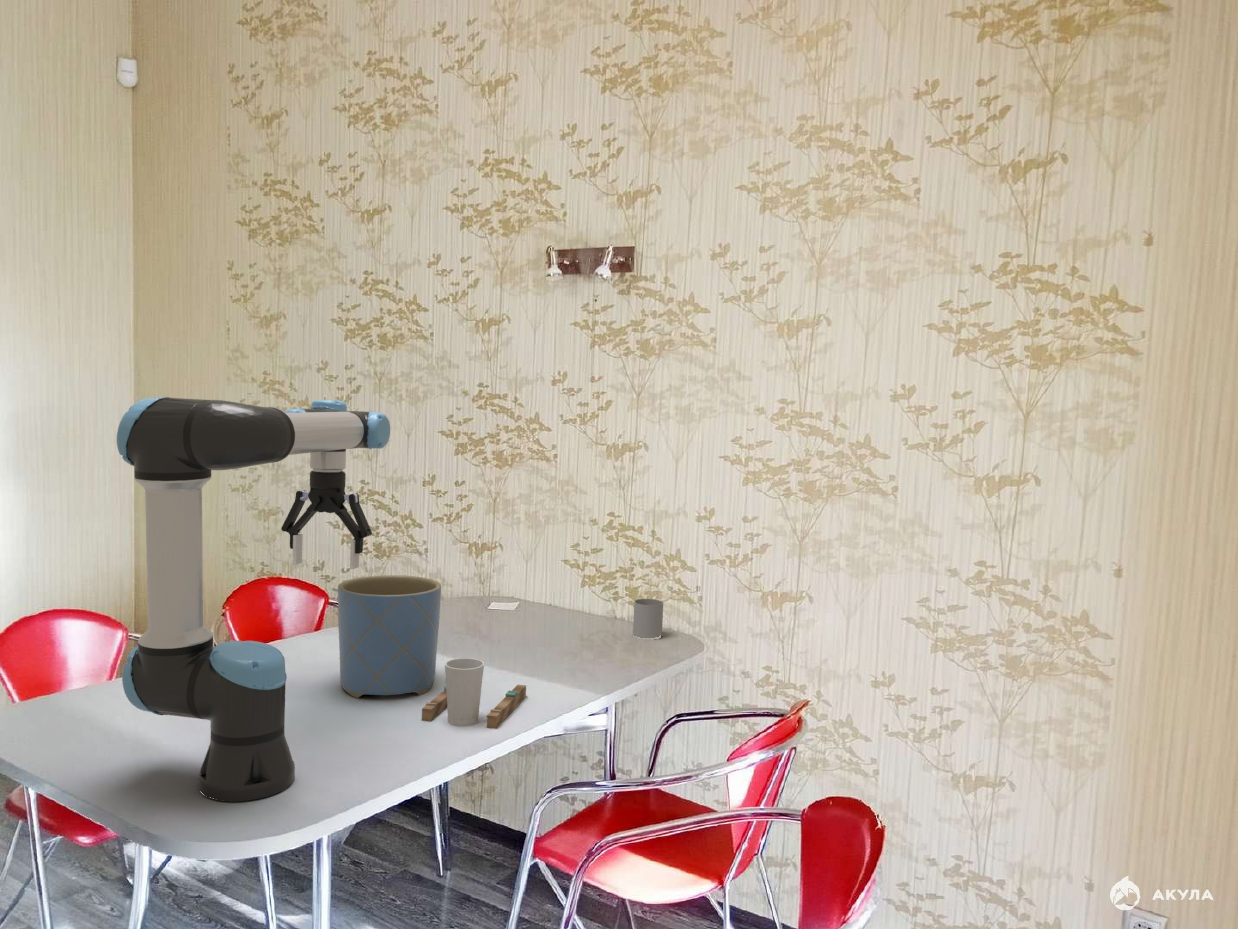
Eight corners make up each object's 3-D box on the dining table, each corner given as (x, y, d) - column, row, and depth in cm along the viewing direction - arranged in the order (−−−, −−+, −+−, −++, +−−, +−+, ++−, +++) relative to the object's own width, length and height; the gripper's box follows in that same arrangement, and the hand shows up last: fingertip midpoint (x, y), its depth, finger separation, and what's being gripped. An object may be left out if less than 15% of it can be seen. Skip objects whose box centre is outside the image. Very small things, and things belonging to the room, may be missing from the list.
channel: (496, 728, 185) (496, 713, 185) (421, 720, 188) (421, 705, 188) (526, 696, 206) (526, 682, 206) (458, 689, 209) (458, 676, 209)
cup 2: (629, 638, 260) (630, 603, 259) (637, 631, 268) (638, 597, 267) (658, 641, 257) (659, 606, 257) (665, 634, 265) (666, 600, 265)
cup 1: (474, 729, 185) (476, 670, 184) (437, 725, 186) (438, 667, 185) (487, 716, 192) (489, 660, 192) (452, 712, 194) (453, 656, 193)
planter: (334, 705, 195) (336, 596, 194) (337, 673, 217) (339, 575, 216) (442, 699, 202) (445, 594, 200) (434, 669, 223) (437, 574, 222)
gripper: (388, 472, 203) (385, 567, 204) (284, 466, 207) (282, 559, 208) (373, 474, 195) (371, 572, 197) (266, 468, 200) (264, 564, 201)
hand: (325, 566), depth 203 cm, fingers open, 13 cm apart
